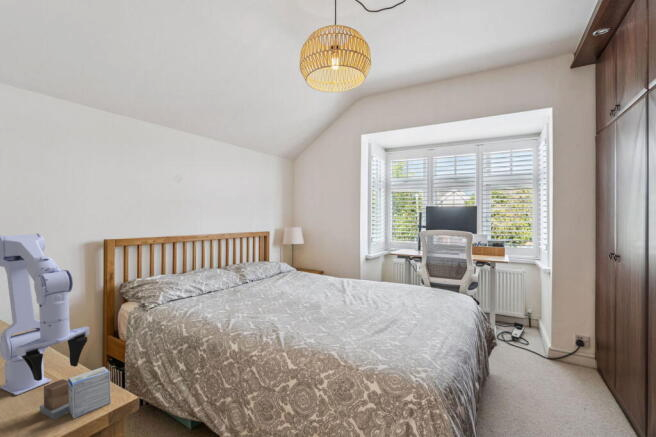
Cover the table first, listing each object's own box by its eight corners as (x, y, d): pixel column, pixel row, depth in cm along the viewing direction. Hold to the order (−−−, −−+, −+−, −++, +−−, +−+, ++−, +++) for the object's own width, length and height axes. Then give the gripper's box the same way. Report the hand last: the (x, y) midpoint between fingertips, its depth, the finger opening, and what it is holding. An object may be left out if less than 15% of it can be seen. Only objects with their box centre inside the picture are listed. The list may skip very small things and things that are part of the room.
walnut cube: (44, 406, 79) (43, 386, 79) (62, 398, 83) (62, 379, 83) (53, 410, 77) (52, 389, 77) (71, 401, 81) (71, 381, 81)
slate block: (40, 413, 79) (39, 405, 79) (63, 402, 84) (63, 395, 84) (53, 421, 76) (53, 413, 76) (77, 409, 81) (77, 402, 81)
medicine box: (105, 397, 85) (104, 365, 85) (111, 403, 82) (110, 370, 82) (68, 412, 79) (67, 378, 79) (73, 419, 76) (72, 384, 76)
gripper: (25, 331, 72) (27, 390, 72) (95, 312, 85) (96, 362, 85) (11, 327, 75) (13, 383, 75) (80, 309, 88) (81, 358, 88)
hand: (56, 372), depth 80 cm, fingers open, 7 cm apart
